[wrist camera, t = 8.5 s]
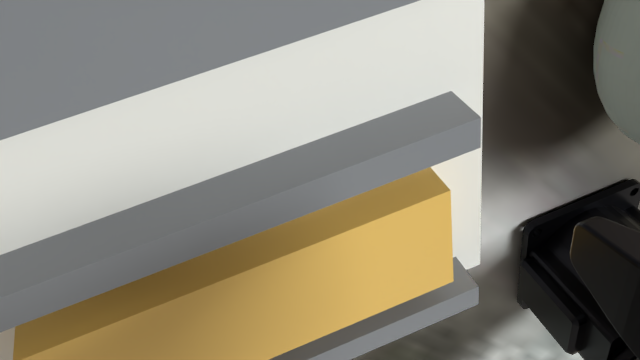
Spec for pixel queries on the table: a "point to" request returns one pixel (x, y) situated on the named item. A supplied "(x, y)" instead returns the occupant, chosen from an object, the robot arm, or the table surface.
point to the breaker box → (225, 138)
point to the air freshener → (619, 64)
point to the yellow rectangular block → (267, 285)
